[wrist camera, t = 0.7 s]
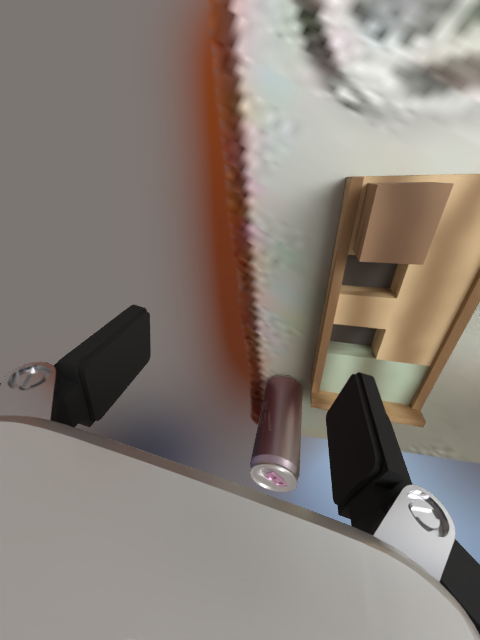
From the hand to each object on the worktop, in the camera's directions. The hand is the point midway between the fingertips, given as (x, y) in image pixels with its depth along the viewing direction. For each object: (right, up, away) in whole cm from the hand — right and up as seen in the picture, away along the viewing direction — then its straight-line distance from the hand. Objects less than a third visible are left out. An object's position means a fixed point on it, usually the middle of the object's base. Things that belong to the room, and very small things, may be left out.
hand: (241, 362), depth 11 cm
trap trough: (+18, +4, +19) cm, 26 cm away
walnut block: (+14, +11, +12) cm, 22 cm away
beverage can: (+8, -9, +30) cm, 32 cm away
